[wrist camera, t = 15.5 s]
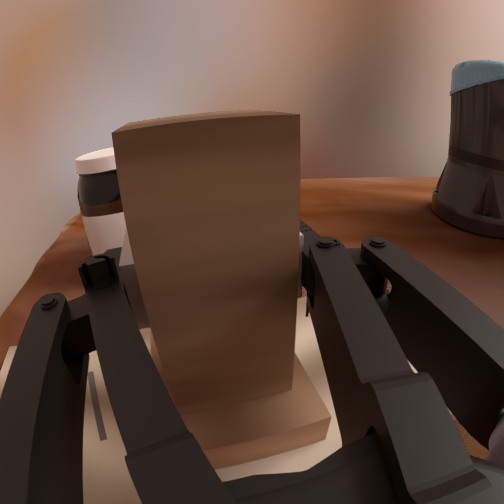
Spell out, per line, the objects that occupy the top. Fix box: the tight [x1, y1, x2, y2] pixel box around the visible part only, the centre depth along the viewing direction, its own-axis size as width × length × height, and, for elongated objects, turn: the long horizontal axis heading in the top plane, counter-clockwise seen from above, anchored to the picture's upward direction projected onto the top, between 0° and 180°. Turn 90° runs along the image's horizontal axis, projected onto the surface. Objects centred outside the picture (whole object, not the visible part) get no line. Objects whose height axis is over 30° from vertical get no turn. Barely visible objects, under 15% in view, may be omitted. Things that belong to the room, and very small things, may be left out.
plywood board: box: [0, 296, 456, 504], centre depth 16 cm, size 13×28×2 cm, turn 106°
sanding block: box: [112, 110, 332, 470], centre depth 13 cm, size 9×7×13 cm
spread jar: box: [75, 147, 126, 256], centre depth 30 cm, size 12×11×12 cm
